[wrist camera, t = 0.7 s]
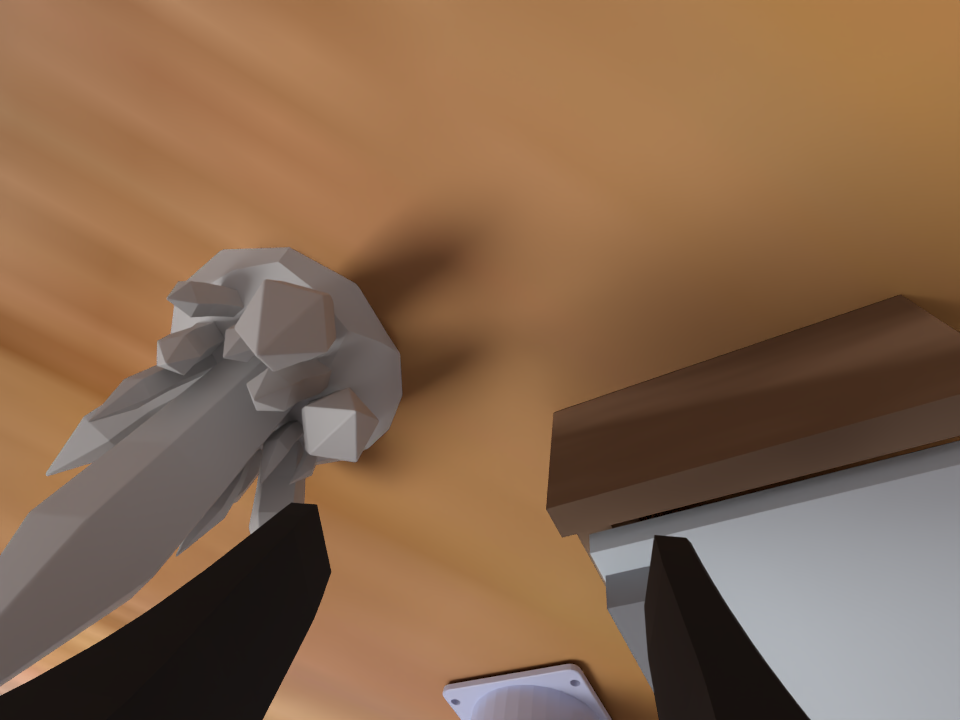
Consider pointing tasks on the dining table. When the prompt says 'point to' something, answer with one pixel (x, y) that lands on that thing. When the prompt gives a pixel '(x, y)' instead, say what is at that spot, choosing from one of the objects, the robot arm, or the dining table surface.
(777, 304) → the dining table surface
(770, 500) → the trapdoor
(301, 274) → the crystal
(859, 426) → the frame
